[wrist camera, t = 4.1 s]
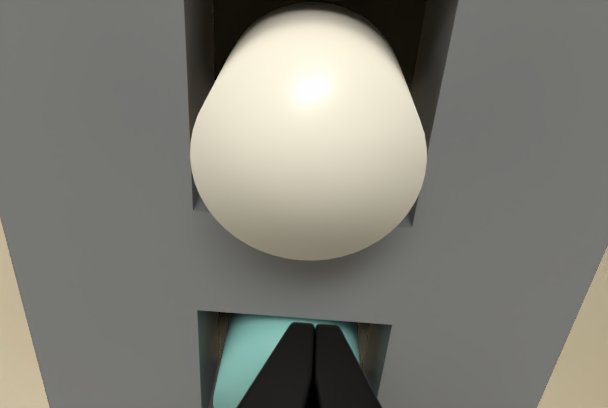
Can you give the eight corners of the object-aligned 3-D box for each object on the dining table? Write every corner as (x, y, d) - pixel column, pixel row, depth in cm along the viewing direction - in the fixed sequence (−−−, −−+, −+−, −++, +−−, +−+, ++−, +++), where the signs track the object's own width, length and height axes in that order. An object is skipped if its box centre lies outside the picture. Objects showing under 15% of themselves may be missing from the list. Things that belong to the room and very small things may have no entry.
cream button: (417, 9, 11) (449, 58, 8) (388, 181, 13) (405, 268, 10) (221, -6, 11) (184, 38, 8) (223, 168, 13) (194, 252, 10)
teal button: (364, 274, 17) (372, 360, 14) (349, 367, 19) (354, 459, 16) (231, 264, 17) (211, 348, 14) (231, 358, 19) (214, 448, 16)
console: (886, -741, 8) (1171, -1049, 5) (480, 407, 20) (502, 486, 18) (-130, -829, 8) (-366, -1188, 5) (95, 379, 20) (62, 454, 17)
